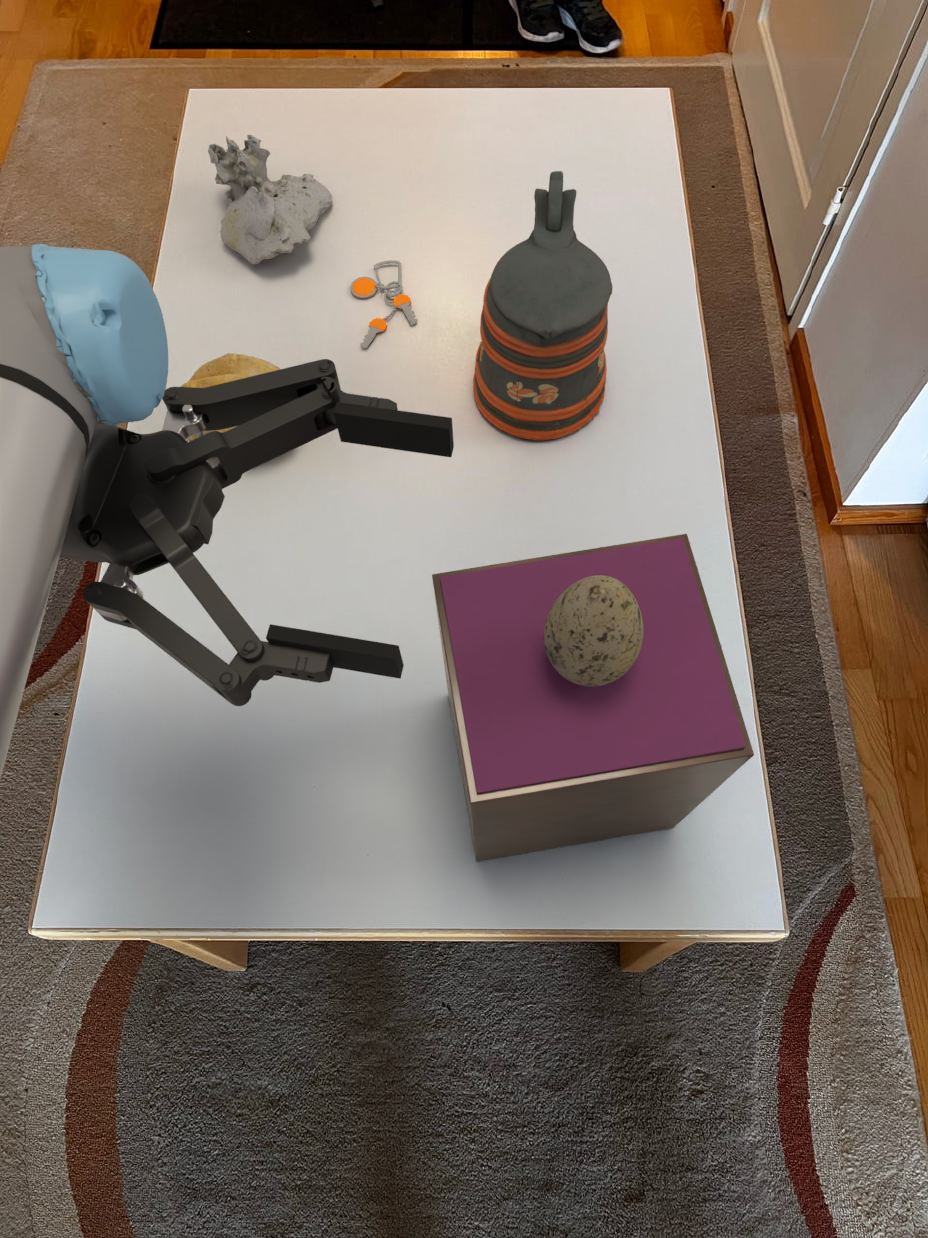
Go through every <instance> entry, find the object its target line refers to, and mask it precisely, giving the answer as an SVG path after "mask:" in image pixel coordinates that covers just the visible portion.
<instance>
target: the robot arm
mask: <svg viewBox="0 0 928 1238" xmlns="http://www.w3.org/2000/svg"><path fill="white" fill-rule="evenodd" d="M158 300H159V299H158V298H157V296H156V293H155V291H154V289H153V286H152V285H151V281H150V280H149V278H148V276H147V275H146V274H145V272H144V270H142V268H140V266H139V265H138V264H137V263H136V262H135V261H134V260H133V259H131V258H130V257H128V256H126V255H125V254H122V253H120V252H117V251H114V250H107V249H105V250H104V249H89V248H88V249H87V248H79V247H78V248H77V247H76V248H75V247H64V246H51V245H47V244H45V243H39V244H35V243H34V244H32V245H31V246H30V245H29V246H27V245H24V246H23V245H22V246H0V780H1V779H2V775H3V771H4V768H5V764H6V759H7V756H8V752H9V750H10V749H9V748H10V746H11V745H10V744H11V741H12V737H13V733H14V730H15V727H16V723H17V719H18V714H19V711H20V707H21V704H22V699H23V695H24V692H25V688H26V684H27V681H28V678H29V673H30V669H31V666H32V662H33V659H34V654H35V650H36V647H37V643H38V639H39V636H40V632H41V628H42V624H43V620H44V617H45V613H46V610H47V605H48V601H49V598H50V595H51V590H52V586H53V582H54V580H55V575H56V572H57V567H58V565H59V564H58V563H59V560H60V557H62V558H66V559H67V558H68V559H72V560H73V559H74V560H80V561H86V562H93V563H97V564H99V563H100V564H101V563H107V564H108V567H107V568H106V570H105V573H104V574H103V576H102V578H101V580H100V581H91V582H90V583H88V584H87V585H85V587H84V589H83V592H82V597H83V599H84V600H85V601H86V603H87V604H89V606H90V607H92V608H93V610H95V612H97V613H98V614H99V615H100V616H101V618H103V619H104V620H105V621H107V622H110V623H112V624H115V625H120V626H123V627H126V628H130V629H133V630H136V631H138V632H140V634H141V635H143V636H144V637H145V638H147V639H148V640H149V641H151V642H152V643H153V644H154V645H155V646H157V647H158V648H159V649H161V650H162V651H163V652H164V653H165V654H167V655H168V656H170V657H171V658H172V659H174V660H175V661H176V662H177V663H178V664H179V665H182V667H184V668H185V669H186V670H187V671H188V672H190V673H191V674H193V675H194V676H195V677H196V678H198V679H199V680H200V681H201V682H202V683H204V684H205V685H207V687H208V688H210V689H212V690H213V691H214V692H215V693H217V694H218V695H219V696H220V697H222V698H223V699H224V700H225V701H226V702H228V703H230V704H231V705H233V706H234V707H243V706H245V705H247V704H248V703H249V702H250V700H251V698H252V691H253V690H254V689H255V687H256V686H257V684H258V683H259V682H260V681H269V680H271V679H272V678H274V676H276V677H283V678H289V679H295V680H301V681H306V682H307V681H308V682H310V683H311V682H312V683H316V684H317V683H318V684H321V683H325V682H326V683H327V682H330V681H331V678H332V674H333V671H334V668H335V669H340V670H346V671H353V672H359V673H364V674H370V675H376V676H382V677H388V678H393V679H394V678H395V679H401V678H402V674H403V671H404V670H403V669H404V665H405V664H404V661H403V657H402V652H401V649H400V645H398V644H392V643H387V642H380V641H374V640H369V639H362V638H357V637H356V638H355V637H350V636H343V635H337V634H331V633H326V632H320V631H313V630H307V629H303V628H302V629H301V628H295V627H289V626H283V625H277V624H272V623H269V626H268V630H267V633H266V636H265V639H266V641H265V640H261V639H260V637H258V635H257V634H256V632H255V631H254V630H253V629H252V627H251V626H250V625H249V624H248V622H247V621H246V620H245V618H244V617H243V616H242V615H241V613H240V611H238V609H237V608H236V607H235V606H234V604H233V603H232V601H231V600H230V599H229V597H228V596H227V595H226V594H225V593H224V592H223V590H222V589H221V587H220V586H219V585H218V583H217V582H216V581H215V580H214V579H213V577H212V576H211V575H210V573H209V572H208V570H206V568H205V567H204V566H203V564H202V563H201V562H200V560H199V559H198V558H197V556H196V555H195V554H194V553H195V552H197V551H199V550H200V549H201V548H202V547H203V545H209V544H210V541H211V538H212V535H213V532H214V531H213V529H214V528H213V527H214V519H215V517H216V516H217V515H218V513H219V512H220V510H221V508H222V506H223V503H224V500H225V497H226V496H225V494H224V492H223V489H225V488H227V487H229V486H231V485H234V484H236V483H237V482H239V481H240V480H241V479H242V476H243V474H245V473H248V471H250V470H253V469H255V468H257V467H259V466H262V465H264V464H266V463H267V462H270V461H272V460H274V459H276V458H278V457H280V456H282V455H285V454H287V453H290V452H291V451H293V450H295V449H297V448H299V447H302V446H303V445H306V444H308V443H310V442H313V441H314V440H317V439H318V438H320V437H323V436H325V435H327V434H329V433H331V432H334V431H336V430H337V432H338V435H339V439H340V442H341V443H346V444H347V443H348V444H354V445H355V444H356V445H361V446H366V447H367V446H368V447H375V448H382V449H389V450H396V451H402V452H411V453H417V454H423V455H424V454H425V455H431V456H438V457H445V458H452V455H453V453H454V447H455V445H454V444H455V442H454V427H453V417H448V416H441V415H434V414H429V413H428V414H427V413H421V412H412V411H404V410H398V403H397V402H395V401H394V400H391V399H389V398H383V397H377V396H369V395H362V394H354V393H348V392H345V391H343V390H342V388H341V384H340V380H339V375H338V372H337V367H336V364H335V362H334V361H332V359H328V358H322V359H317V360H314V361H310V362H305V363H302V364H297V365H293V366H289V367H285V368H280V370H276V371H272V372H268V373H264V374H259V375H255V376H251V377H247V378H243V379H239V380H235V381H230V382H226V383H222V384H218V385H214V386H210V387H205V388H193V387H180V386H170V387H168V388H167V382H168V375H169V344H168V337H167V335H168V334H167V330H166V324H165V321H164V320H165V319H164V316H163V315H164V314H163V312H162V309H161V308H162V307H161V306H160V303H159V301H158ZM162 401H163V403H164V405H165V407H166V414H165V418H164V422H163V427H162V430H158V431H155V432H152V433H142V434H141V433H139V432H135V431H131V430H129V429H126V428H123V427H120V426H117V425H118V424H124V423H125V424H126V423H135V422H141V421H144V420H145V419H147V418H149V417H150V416H152V415H153V412H154V410H155V409H156V408H158V407H159V405H160V404H161V402H162ZM235 426H237V427H235ZM231 427H235V428H232V429H230V430H228V431H226V432H218V431H214V430H222V429H227V428H231ZM205 431H212V432H209V433H207V434H205ZM204 434H205V435H204ZM191 435H196V436H197V437H198V438H196V439H194V440H192V441H190V440H189V441H187V439H188V437H189V436H191ZM215 457H217V458H218V459H217V458H216V459H217V460H218V464H217V465H216V466H215V467H213V466H212V465H211V464H210V463H209V462H208V460H210V459H214V458H215ZM167 564H169V565H170V566H171V567H172V568H173V570H174V572H176V574H177V575H178V576H179V578H180V579H181V580H182V581H183V583H184V584H185V586H186V587H187V588H188V589H189V591H190V592H191V594H192V595H193V596H194V597H195V598H196V600H197V601H198V603H199V604H200V605H201V606H202V608H203V609H204V611H206V613H207V614H208V616H209V617H210V618H211V619H212V621H213V623H215V625H216V627H218V629H219V630H220V632H221V633H222V634H223V635H224V636H225V638H226V639H227V640H228V642H229V643H230V644H231V646H232V647H233V649H235V651H236V654H235V655H234V657H233V658H232V659H231V660H230V662H229V663H227V662H226V661H225V660H224V659H222V658H221V657H220V656H218V655H217V654H215V652H213V651H212V650H210V649H209V648H208V647H206V646H205V645H204V644H203V643H201V642H200V641H199V640H197V639H196V638H195V637H193V636H192V635H191V634H190V633H188V632H187V631H186V630H184V629H183V628H182V627H181V626H179V625H178V624H177V623H175V621H173V620H171V619H170V618H169V617H167V616H166V615H165V614H164V613H162V612H161V611H160V610H159V609H157V608H156V607H155V606H153V605H152V604H151V603H149V602H148V601H147V600H146V599H145V598H144V592H143V590H142V589H141V588H140V587H139V586H138V585H137V583H136V582H135V581H134V576H140V575H143V574H145V573H149V572H150V571H153V570H155V569H157V568H160V567H164V566H165V565H167Z"/></svg>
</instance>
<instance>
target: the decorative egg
mask: <svg viewBox="0 0 928 1238" xmlns="http://www.w3.org/2000/svg"><path fill="white" fill-rule="evenodd" d="M642 641H643V620H642V615H641V611H640V608H639V605H638V603H637V601H636V599H635V597H634V595H633V594H632V592H631V591H630V590H629V589H628V588H627V587H626V586H625V585H624V584H623V583H622V582H620V581H619V580H617V579H615V578H612V577H609V576H605V575H594V576H589V577H586V578H583V579H581V580H579V581H577V582H575V583H574V584H572V585H571V586H569V587H568V588H567V589H566V590H565V591H564V592H563V593H562V594H561V595H560V596H559V597H558V598H557V600H556V601H555V603H554V604H553V606H552V607H551V609H550V611H549V613H548V616H547V619H546V622H545V627H544V646H545V651H546V654H547V656H548V659H549V661H550V662H551V664H552V666H553V667H554V668H555V669H556V671H557V672H558V673H559V674H560V675H562V676H563V677H564V678H565V679H567V680H569V681H571V682H573V683H575V684H578V685H582V686H590V687H594V686H602V685H606V684H609V683H611V682H614V681H615V680H617V679H619V678H620V677H621V676H623V675H624V674H625V673H626V672H627V671H628V670H629V669H630V668H631V667H632V665H633V664H634V662H635V661H636V659H637V657H638V655H639V652H640V649H641V646H642Z"/></svg>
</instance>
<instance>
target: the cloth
mask: <svg viewBox="0 0 928 1238" xmlns="http://www.w3.org/2000/svg"><path fill="white" fill-rule="evenodd" d="M594 575H605V576H609V577H612V578H615V579H617V580H619V581H620V582H622V583H623V584H624V585H625V586H626V587H627V588H628V589H629V590H630V591H631V592H632V594H633V595H634V597H635V599H636V601H637V603H638V605H639V608H640V611H641V615H642V620H643V641H642V646H641V649H640V652H639V655H638V657H637V659H636V661H635V662H634V664H633V665H632V667H631V668H630V669H629V670H628V671H627V672H626V673H625V674H624V675H623V676H621V677H620V678H619V679H617V680H615V681H614V682H611V683H609V684H606V685H602V686H594V687H590V686H582V685H578V684H575V683H573V682H571V681H569V680H567V679H565V678H564V677H563V676H562V675H560V674H559V673H558V672H557V671H556V669H555V668H554V667H553V666H552V664H551V662H550V661H549V659H548V656H547V654H546V651H545V646H544V627H545V622H546V619H547V616H548V613H549V611H550V609H551V607H552V606H553V604H554V603H555V601H556V600H557V598H558V597H559V596H560V595H561V594H562V593H563V592H564V591H565V590H566V589H567V588H568V587H569V586H571V585H572V584H574V583H575V582H577V581H579V580H581V579H583V578H586V577H589V576H594ZM440 582H441V588H442V593H443V599H444V605H445V611H446V617H447V623H448V628H449V634H450V640H451V646H452V652H453V658H454V663H455V669H456V675H457V681H458V687H459V693H460V698H461V704H462V710H463V716H464V722H465V728H466V733H467V739H468V745H469V751H470V757H471V763H472V769H473V774H474V780H475V786H476V792H477V794H481V793H487V792H493V791H499V790H504V789H510V788H516V787H522V786H528V785H534V784H540V783H545V782H551V781H557V780H563V779H569V778H575V777H581V776H586V775H592V774H598V773H604V772H610V771H616V770H622V769H628V768H633V767H639V766H645V765H651V764H657V763H663V762H669V761H674V760H680V759H686V758H692V757H698V756H704V755H710V754H715V753H721V752H727V751H733V750H739V749H744V748H745V747H746V745H745V742H744V738H743V735H742V732H741V729H740V725H739V722H738V719H737V715H736V712H735V709H734V705H733V702H732V699H731V695H730V692H729V689H728V686H727V682H726V679H725V676H724V672H723V669H722V666H721V662H720V659H719V656H718V652H717V649H716V646H715V642H714V639H713V636H712V633H711V629H710V626H709V623H708V619H707V616H706V613H705V609H704V606H703V603H702V599H701V596H700V593H699V590H698V586H697V583H696V580H695V576H694V573H693V570H692V566H691V563H690V560H689V556H688V553H687V550H686V547H685V543H684V540H683V538H680V539H674V540H668V541H661V542H655V543H649V544H643V545H636V546H630V547H624V548H618V549H611V550H605V551H599V552H593V553H587V554H580V555H574V556H568V557H562V558H555V559H549V560H543V561H537V562H530V563H524V564H518V565H512V566H505V567H499V568H493V569H487V570H480V571H474V572H468V573H462V574H455V575H449V576H443V577H440Z"/></svg>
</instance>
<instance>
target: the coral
mask: <svg viewBox="0 0 928 1238" xmlns="http://www.w3.org/2000/svg"><path fill="white" fill-rule="evenodd" d="M246 135H247V137H246V138H247V139H244V143H243V144H244V148H243V149H240V147H239V146H238V144H237V143H236V141H235V140H234V139H230V138H229V137H228V136H227V135H225V141H226V145H227V149H225V148H224V147H223V146H221V145H219V144H216V143H213V144H209V145H208V150H207V153H208V155H209V159H210V163H211V164H214V165H215V168H216V175H215V177H214V181H215V184H216V185H221V186H222V185H225V186H229V187H230V189H229V190H227V191H225V193H224V196H225V198H226V199H230V201H231V202H230V203H229V204H228V207H227V210H226V213H225V214H224V216H223V218H222V219H221V221H220V225H221V226H220V231H219V235H220V238H221V242H223V243H224V244H225V245H226V246H228V247H229V248H230V249H232V250H233V251H234V252H236V253H238V254H239V255H241V256H242V257H243V258H245V259H246V261H248V262H249V263H250V264H251V265H259V264H260V263H261V262H262V261H263V260H272V259H274V258H275V257H277V256H278V255H280V254H291V253H292V252H293V250H294V249H295V246H294V245H295V244H302V243H303V242H305V243H306V242H309V241H310V240H311V239H312V237H311V236H310V234H309V232H308V231H311V230H312V229H313V228H314V227H315V225H316V224H317V221H318V220H319V217H320V216H322V215H323V214H324V213H325V212H326V211H327V210H328V209H329V208H330V206H331V205H332V203H333V196H332V193H331V190H329V189H328V188H327V187H326V186H325V185H324V184H323V183H321V182H319V180H317V179H316V178H314V176H315V175H314V174H312V173H303V174H302V175H301V176H296V175H292V174H284V173H283V174H282V175H281V177H280V179H278V180H271V179H269V177H268V167H267V161H268V158H269V156H270V155H271V152H270V151H269V150H268V149H267V148H266V149H265V148H263V147H261V142H262V140H261V139H259V138H258V137H256V136H254V135H253V134H246Z"/></svg>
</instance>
